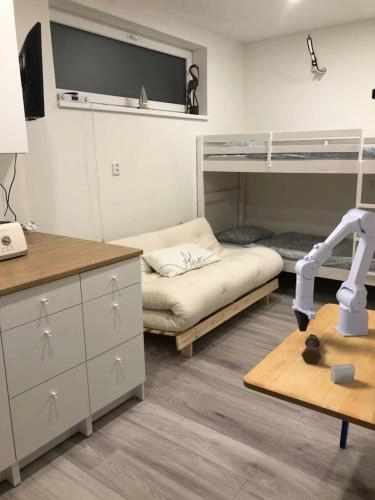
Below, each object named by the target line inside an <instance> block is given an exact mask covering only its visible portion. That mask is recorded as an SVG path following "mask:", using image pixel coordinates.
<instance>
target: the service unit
mask: <svg viewBox="0 0 375 500" xmlns="http://www.w3.org/2000/svg"><path fill="white" fill-rule="evenodd" d="M355 372H356V366H355V365H354V364H353V363H342V364H332V365H331V369H330V381H331V382H332V383H333V384H341V383H342V384H344V383H352V382H353V383H354V382H355V375H356V373H355Z"/></svg>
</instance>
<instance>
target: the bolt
mask: <svg viewBox="0 0 375 500" xmlns="http://www.w3.org/2000/svg"><path fill="white" fill-rule="evenodd" d="M304 345H305V348H304V349H303V351H302V352H301V354H300V355H301V357H302V360H303V361H304V362H305V363H306V364H309V365H317V363H319V361H320V360H321V359H322V355H321V354H320V352H319V348H320V346H321V341H320V340H319V337H318V336H317V335H315V334H312V333H310V334H309V335H308V337H307V338H306V339H305V341H304Z"/></svg>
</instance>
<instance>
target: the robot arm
mask: <svg viewBox="0 0 375 500" xmlns="http://www.w3.org/2000/svg"><path fill="white" fill-rule="evenodd" d="M351 233H357V234H358V237H359V242H358V245H357V248H356V251H355V254H354V258H353V262H352V265H351V267H350V271H349V273H348V278H347V279H346V280H345V281H344V282H342V283H341V286H340V287H339V289H338V291H337V292H336V295H335V296H336V299H337V302H338V303H339V304H338V305H339V312H338V323H337V324H338V325H334V326H332V327H333V329H334V330H335V331H337V332H338V333H339V334H340V335H341V336H343V337H353V336H355V337H357V336H366V335H367V336H368V335H369V332H368V331H369V330H368V329H369V318H370V317H369V312H368V310H367V309H366V306H367V302H368V301H367V295H368V291H367V289H366V286H365V283H366V279H367V276H368V273H369V270H370V267H371V263H372V259H373V257H374V253H375V212H374V211H367V210H363V209H359V208H358V207H357V208H356V207H355V208H351V209H349V210H347V212H346V214H345V215H343V216H342V218H341V222H339V223H338V225H337V226H336V228H335V229H334V230H333V231H332V232H331V233H330V234H329V236H328V237H327V238H326V239H325V240H324V242H318V243H317V244H314V245H313V248H312V249H311V251H309V252H308V254H306V255H304V256H303V258H302V259H298V260H297V262H296V264H295V266H293V270H294V272H295V274H296V284H295V298H293V299H292V306H291V308H292V309H293V313H294V316H295V318H296V322H297V326H298V327H297V328H298V330H299V331H300V332H307V329H308V327H309V324H310V321H312V320H316V319H317V317H316V315H317V314H316V313H315V310H314V306H313V305H314V304H313V303H314V286H315V277H317V275H318V274H319V269H320V268H321V267H322V265H323V264H324V263H325V262H326V261H327V260H328V259H329V258H330V257H331V256H332V254H333V253H332V252H333V249H334V248H335V246H337V245H338V244H339V243H340V242H341V241H342V240H343V239H344V238H346V237H347V236H348V235H350V234H351Z"/></svg>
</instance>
